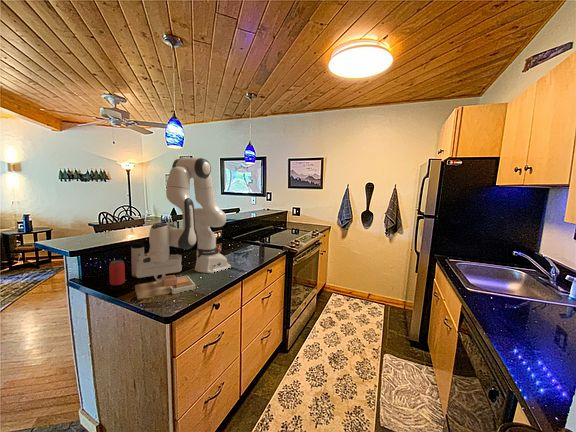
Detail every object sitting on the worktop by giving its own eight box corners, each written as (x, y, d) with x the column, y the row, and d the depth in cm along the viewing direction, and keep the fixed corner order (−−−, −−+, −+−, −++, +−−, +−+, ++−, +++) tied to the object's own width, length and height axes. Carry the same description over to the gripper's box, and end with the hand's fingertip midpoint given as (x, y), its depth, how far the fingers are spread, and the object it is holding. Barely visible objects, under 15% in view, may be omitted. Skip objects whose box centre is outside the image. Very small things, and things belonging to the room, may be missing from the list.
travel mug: (134, 272, 143) (134, 239, 140) (146, 273, 143) (146, 240, 141) (128, 276, 136) (128, 242, 134) (141, 277, 137) (140, 242, 135)
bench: (166, 285, 129) (166, 279, 128) (170, 293, 120) (170, 287, 120) (135, 290, 120) (134, 285, 120) (137, 299, 111) (137, 293, 111)
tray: (187, 279, 137) (187, 275, 137) (195, 289, 125) (195, 285, 125) (165, 283, 130) (165, 279, 130) (172, 294, 118) (172, 289, 118)
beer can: (117, 286, 124) (116, 264, 122) (106, 284, 125) (105, 262, 123) (128, 281, 130) (127, 260, 129) (117, 280, 131) (117, 258, 130)
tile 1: (174, 280, 128) (174, 275, 128) (176, 284, 123) (177, 278, 123) (161, 282, 125) (161, 276, 124) (163, 286, 120) (164, 280, 120)
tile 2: (186, 282, 132) (186, 277, 132) (189, 286, 127) (189, 281, 127) (174, 284, 128) (174, 279, 128) (176, 288, 124) (176, 283, 123)
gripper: (180, 252, 128) (180, 277, 130) (135, 256, 116) (135, 284, 118) (183, 255, 124) (183, 281, 125) (136, 260, 111) (136, 289, 113)
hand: (159, 282), depth 121 cm, fingers closed
